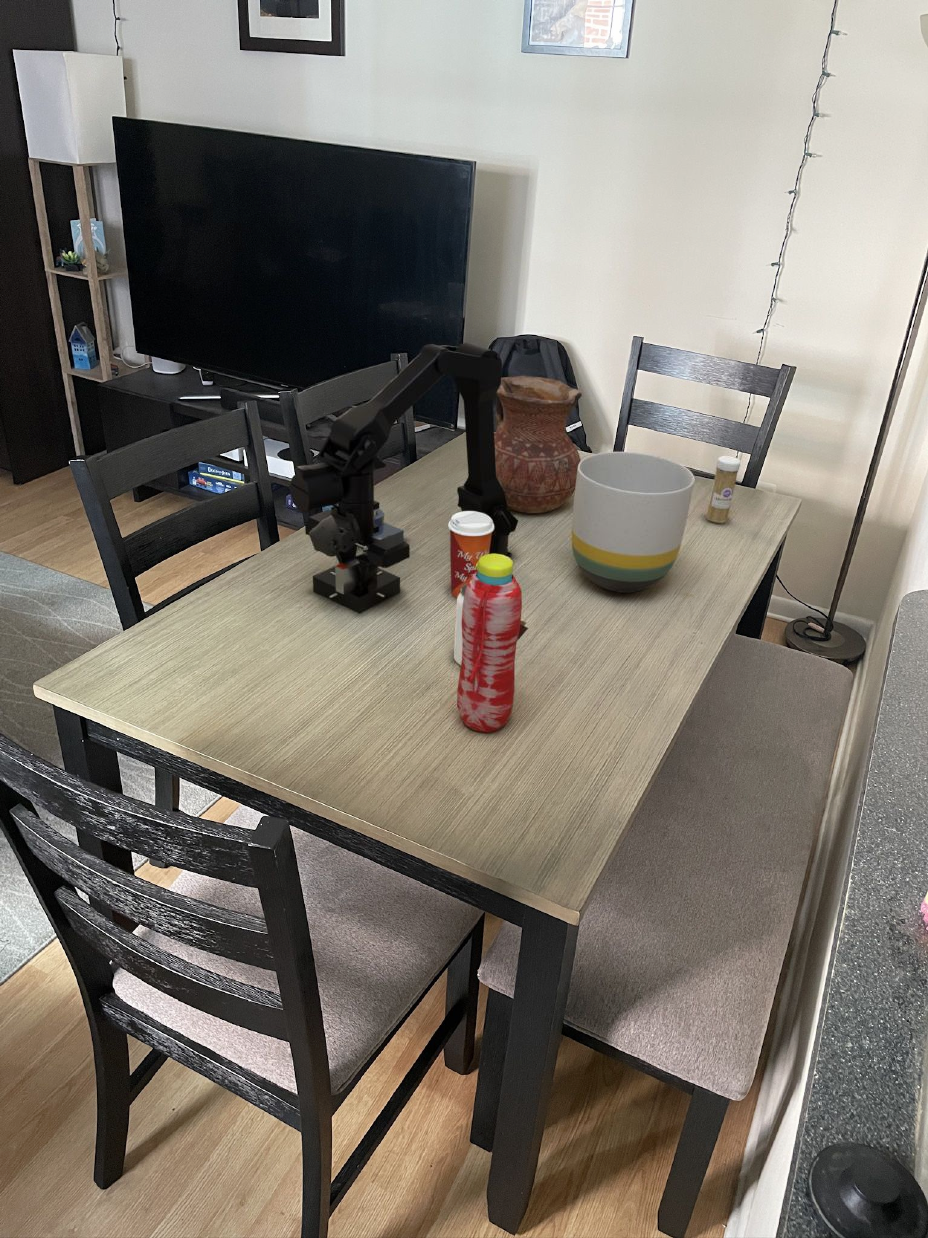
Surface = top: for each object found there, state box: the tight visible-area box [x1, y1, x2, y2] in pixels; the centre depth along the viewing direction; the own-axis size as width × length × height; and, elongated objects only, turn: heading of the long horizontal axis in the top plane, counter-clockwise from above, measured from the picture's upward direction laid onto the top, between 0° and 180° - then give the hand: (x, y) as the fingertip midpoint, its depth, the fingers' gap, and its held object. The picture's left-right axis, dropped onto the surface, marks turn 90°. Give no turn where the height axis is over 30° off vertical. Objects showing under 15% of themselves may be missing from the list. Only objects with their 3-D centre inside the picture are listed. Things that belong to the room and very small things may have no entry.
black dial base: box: [312, 564, 401, 615], centre depth 150 cm, size 14×13×3 cm
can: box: [453, 583, 468, 667], centre depth 133 cm, size 6×6×12 cm
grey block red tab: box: [335, 558, 377, 594], centre depth 148 cm, size 8×2×5 cm, turn 141°
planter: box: [571, 451, 695, 593], centre depth 155 cm, size 20×20×21 cm
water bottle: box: [456, 554, 529, 733], centre depth 118 cm, size 12×8×25 cm, turn 153°
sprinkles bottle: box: [705, 455, 741, 524], centre depth 185 cm, size 5×5×13 cm
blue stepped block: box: [357, 508, 404, 550], centre depth 171 cm, size 10×9×4 cm
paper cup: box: [447, 511, 494, 599], centre depth 151 cm, size 8×8×14 cm
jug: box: [494, 375, 583, 514], centre depth 185 cm, size 22×21×25 cm
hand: (356, 584), depth 149 cm, fingers open, 3 cm apart
